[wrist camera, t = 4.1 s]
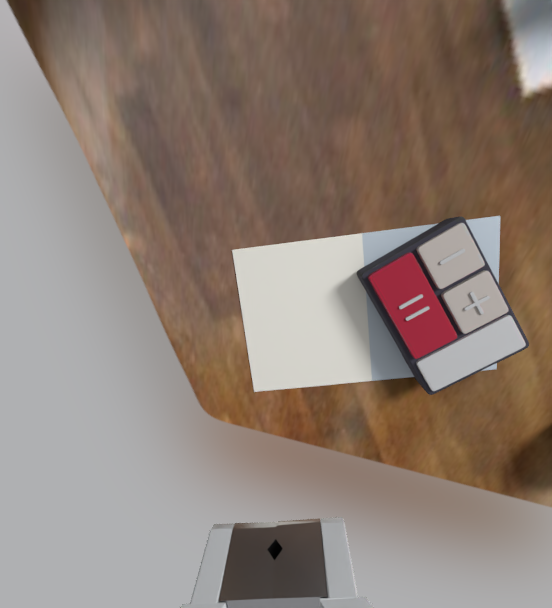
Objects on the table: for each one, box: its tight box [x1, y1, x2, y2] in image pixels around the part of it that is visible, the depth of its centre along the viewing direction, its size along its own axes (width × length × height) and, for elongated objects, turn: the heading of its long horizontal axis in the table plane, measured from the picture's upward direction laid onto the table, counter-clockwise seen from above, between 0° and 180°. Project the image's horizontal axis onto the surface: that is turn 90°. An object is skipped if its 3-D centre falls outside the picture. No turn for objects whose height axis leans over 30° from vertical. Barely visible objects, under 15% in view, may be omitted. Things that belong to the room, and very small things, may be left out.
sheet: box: [232, 216, 500, 392], centre depth 36 cm, size 17×28×1 cm, turn 97°
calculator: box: [357, 217, 529, 395], centre depth 33 cm, size 11×4×15 cm
